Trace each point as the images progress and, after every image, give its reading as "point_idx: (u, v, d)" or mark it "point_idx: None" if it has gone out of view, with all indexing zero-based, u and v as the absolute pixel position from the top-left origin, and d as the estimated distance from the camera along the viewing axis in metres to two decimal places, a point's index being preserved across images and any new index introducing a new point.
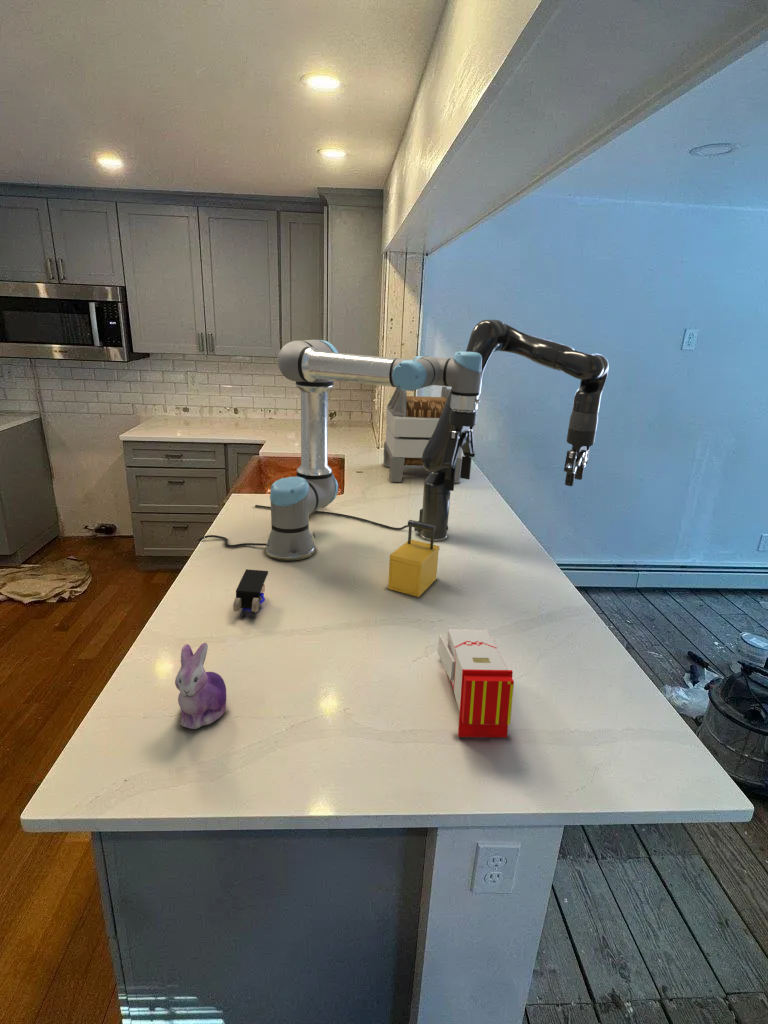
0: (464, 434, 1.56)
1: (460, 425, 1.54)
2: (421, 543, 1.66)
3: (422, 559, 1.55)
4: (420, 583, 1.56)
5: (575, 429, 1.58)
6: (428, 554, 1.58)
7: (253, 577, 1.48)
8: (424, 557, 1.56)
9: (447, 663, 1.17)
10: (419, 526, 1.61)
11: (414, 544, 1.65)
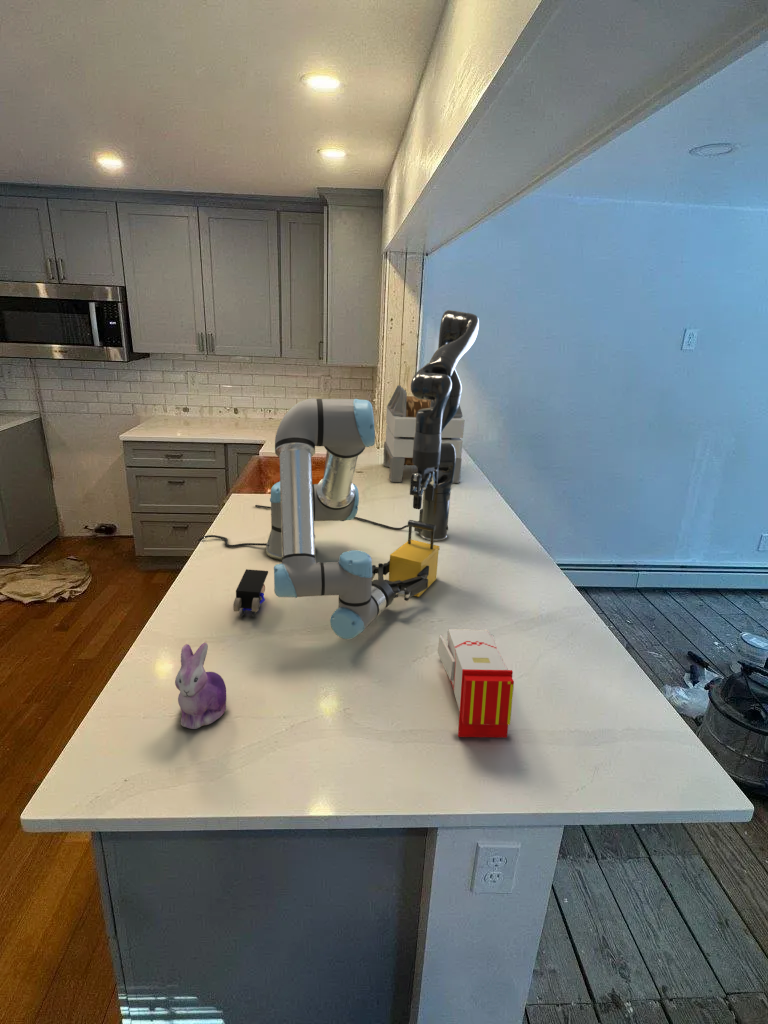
0: None
1: None
2: (421, 543, 1.66)
3: (422, 559, 1.55)
4: None
5: None
6: (428, 554, 1.58)
7: (253, 577, 1.48)
8: (424, 557, 1.56)
9: (447, 663, 1.17)
10: (419, 526, 1.61)
11: (414, 544, 1.65)
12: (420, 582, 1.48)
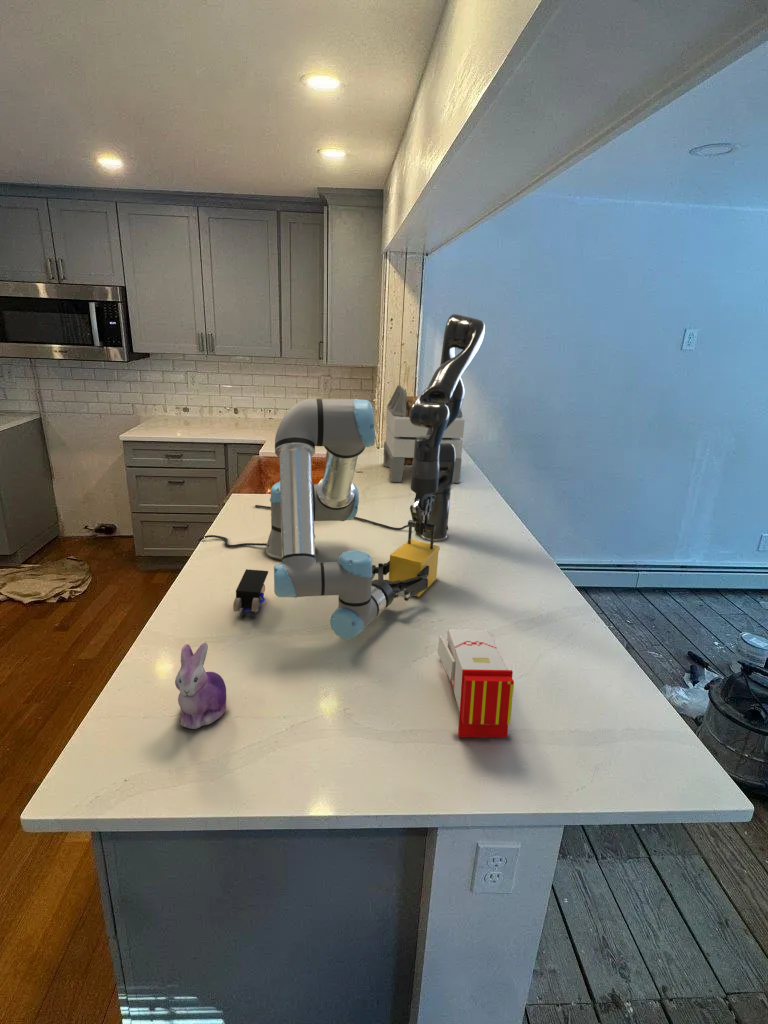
0: None
1: None
2: (421, 543, 1.66)
3: (422, 559, 1.55)
4: None
5: None
6: (428, 554, 1.58)
7: (253, 577, 1.48)
8: (424, 557, 1.56)
9: (447, 663, 1.17)
10: None
11: (414, 544, 1.65)
12: (420, 582, 1.48)
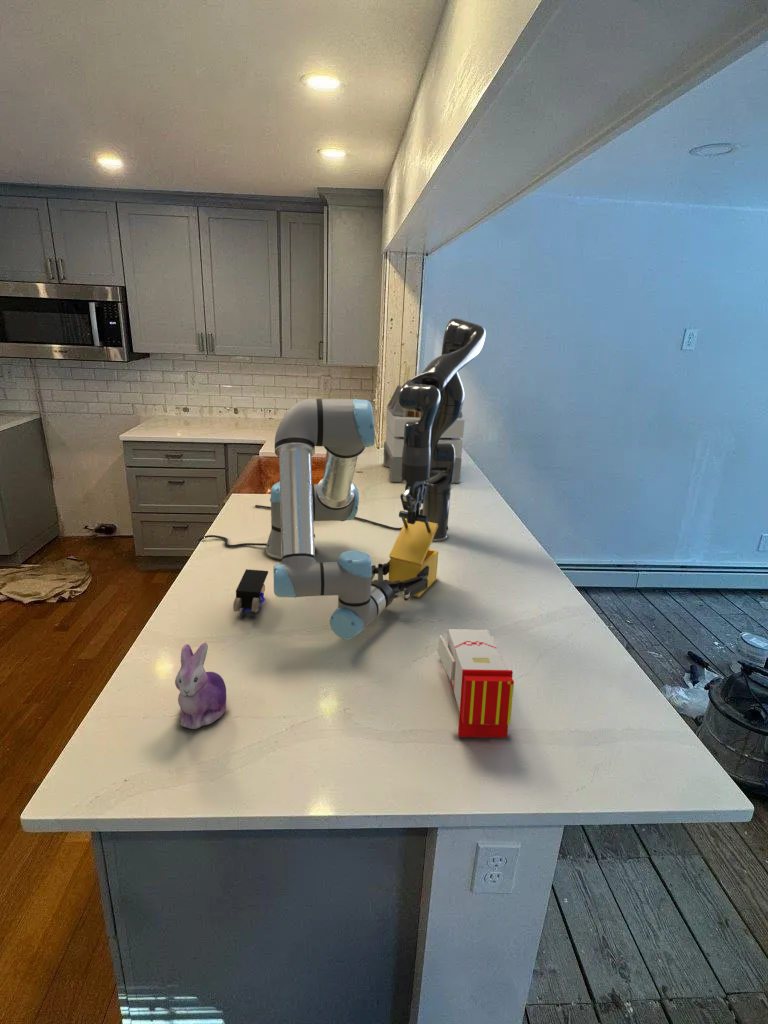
0: None
1: None
2: (418, 523, 1.60)
3: (421, 557, 1.54)
4: None
5: None
6: (426, 545, 1.56)
7: (253, 577, 1.48)
8: (423, 552, 1.55)
9: (447, 663, 1.17)
10: None
11: (412, 526, 1.60)
12: (420, 582, 1.48)
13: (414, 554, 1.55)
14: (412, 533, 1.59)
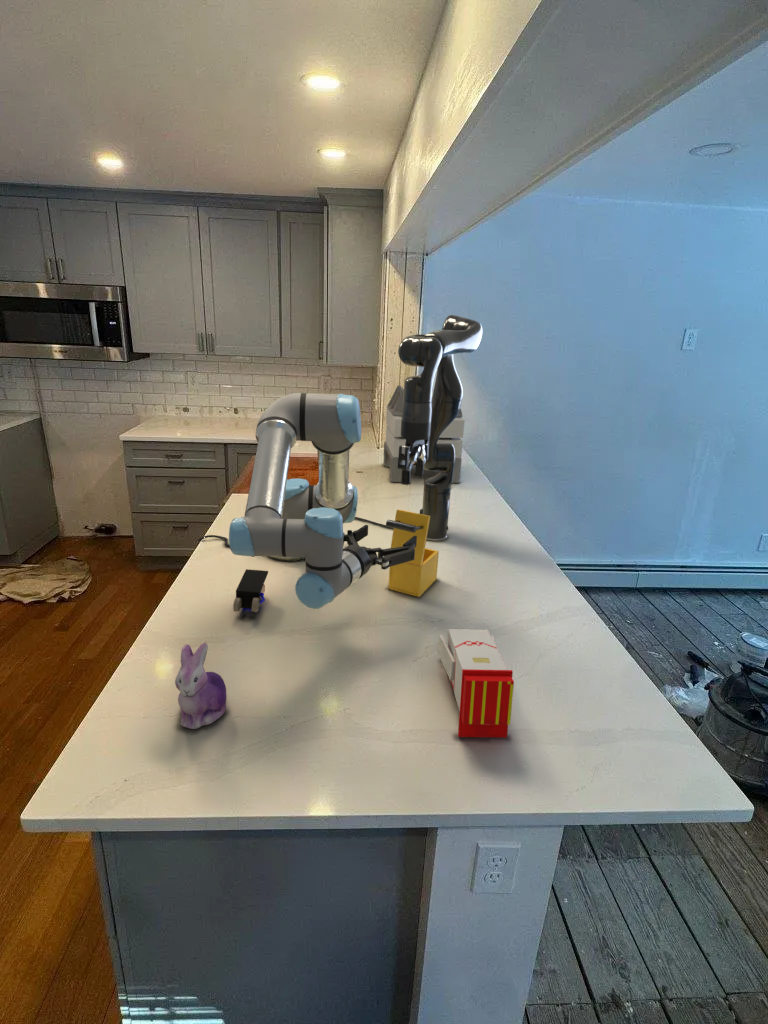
0: None
1: None
2: (409, 517, 1.53)
3: (419, 557, 1.53)
4: (420, 583, 1.56)
5: None
6: (422, 542, 1.52)
7: (253, 577, 1.48)
8: (420, 551, 1.52)
9: (447, 663, 1.17)
10: (399, 529, 1.48)
11: (404, 521, 1.54)
12: (404, 552, 1.30)
13: None
14: None
